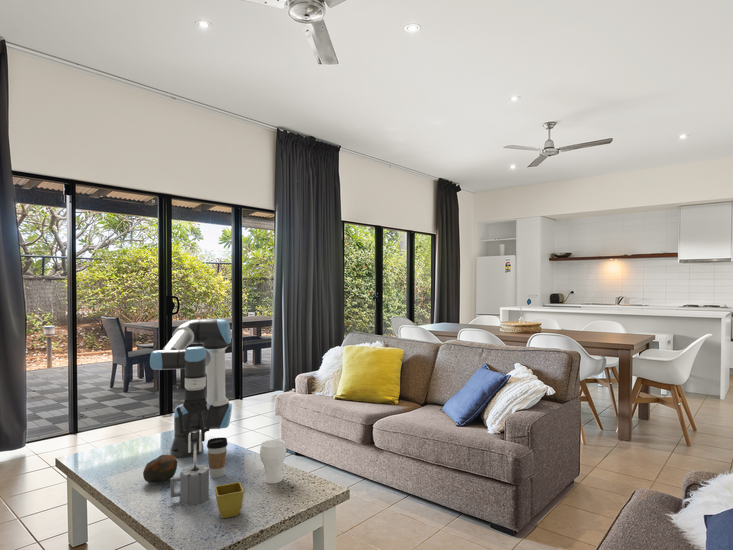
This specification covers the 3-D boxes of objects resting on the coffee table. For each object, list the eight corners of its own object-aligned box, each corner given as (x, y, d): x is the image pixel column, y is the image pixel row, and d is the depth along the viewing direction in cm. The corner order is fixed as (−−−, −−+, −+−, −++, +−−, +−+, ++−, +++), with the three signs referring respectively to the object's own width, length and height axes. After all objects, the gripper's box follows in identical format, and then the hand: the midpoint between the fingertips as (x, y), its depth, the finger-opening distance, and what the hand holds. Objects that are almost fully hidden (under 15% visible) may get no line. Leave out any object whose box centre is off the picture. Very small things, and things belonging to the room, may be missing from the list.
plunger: (186, 474, 177) (186, 430, 178) (204, 472, 179) (204, 428, 179) (185, 481, 171) (185, 435, 171) (203, 478, 173) (203, 433, 173)
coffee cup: (221, 479, 192) (221, 443, 193) (202, 478, 194) (202, 441, 194) (231, 471, 200) (231, 436, 201) (213, 470, 202) (213, 435, 203)
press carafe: (171, 496, 177) (172, 467, 177) (209, 491, 181) (209, 463, 181) (169, 508, 167) (169, 477, 168) (208, 502, 171) (208, 472, 172)
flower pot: (217, 522, 156) (217, 495, 157) (214, 511, 164) (214, 485, 165) (243, 517, 160) (243, 491, 160) (240, 506, 168) (240, 481, 168)
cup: (254, 480, 191) (254, 443, 192) (276, 472, 199) (276, 437, 199) (270, 487, 184) (270, 449, 184) (291, 479, 192) (291, 442, 192)
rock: (150, 491, 182) (150, 465, 182) (138, 483, 189) (138, 458, 189) (183, 480, 192) (183, 455, 192) (170, 473, 199) (170, 449, 199)
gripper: (171, 391, 170) (170, 456, 169) (217, 388, 175) (217, 451, 174) (173, 387, 177) (172, 450, 176) (217, 384, 182) (217, 445, 181)
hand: (195, 450), depth 175 cm, fingers closed on plunger, 3 cm apart
